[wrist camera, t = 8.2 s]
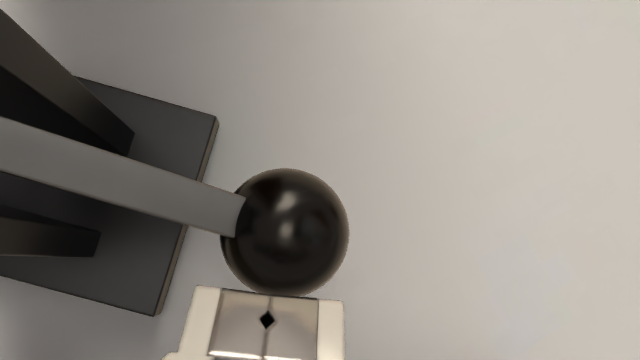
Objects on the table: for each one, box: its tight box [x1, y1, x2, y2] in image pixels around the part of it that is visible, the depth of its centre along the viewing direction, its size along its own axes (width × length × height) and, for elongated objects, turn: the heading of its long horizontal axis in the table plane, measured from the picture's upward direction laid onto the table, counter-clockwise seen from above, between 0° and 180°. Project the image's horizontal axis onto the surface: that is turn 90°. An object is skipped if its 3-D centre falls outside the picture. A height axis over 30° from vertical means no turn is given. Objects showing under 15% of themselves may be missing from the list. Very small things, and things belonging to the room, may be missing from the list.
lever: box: [0, 116, 349, 296], centre depth 13 cm, size 13×4×4 cm, turn 75°
